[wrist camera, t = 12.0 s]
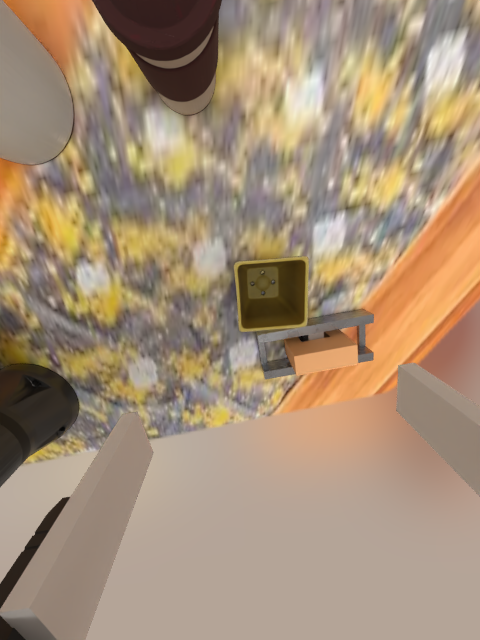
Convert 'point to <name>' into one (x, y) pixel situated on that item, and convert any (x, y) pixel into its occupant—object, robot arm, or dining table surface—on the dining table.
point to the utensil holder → (30, 96)
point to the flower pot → (272, 293)
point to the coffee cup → (170, 45)
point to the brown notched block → (321, 353)
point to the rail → (312, 332)
